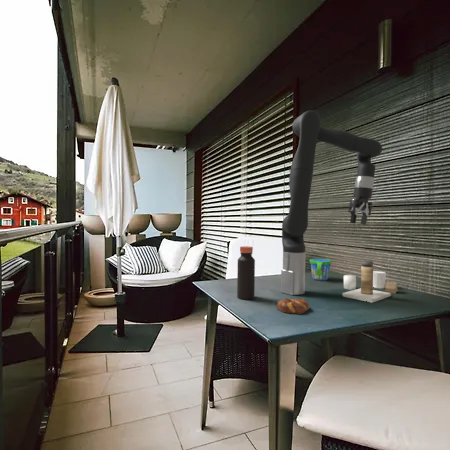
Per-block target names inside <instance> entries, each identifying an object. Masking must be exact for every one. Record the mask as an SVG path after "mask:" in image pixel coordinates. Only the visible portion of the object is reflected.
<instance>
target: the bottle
mask: <svg viewBox="0 0 450 450" xmlns="http://www.w3.org/2000/svg"><path fill="white" fill-rule="evenodd" d="M253 249H254V248H253V246H247V245H246V246H240V247H239V253H240V256H239V257H238V258H237V278H236V280H237V281H236V282H237V284H236V285H237V286H236V287H237V288H236V291H237V293H236V297H237V298H238V299H240V300H249V301H250V300H253V299H254V298H255V290H256V289H255V279H256V278H255V277H256V276H255V274H256V272H255V271H256V267H255V266H256V259H255V258H254V257H253V256H252V255H253V252H254V251H253Z"/></svg>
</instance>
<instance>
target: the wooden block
mask: <svg viewBox="0 0 450 450" xmlns="http://www.w3.org/2000/svg"><path fill="white" fill-rule="evenodd" d="M384 292H387V293H391V294H395V293H396V292H398V282H394V281H392V282H391V281H385V288H384ZM396 294H397V293H396Z"/></svg>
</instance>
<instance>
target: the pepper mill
mask: <svg viewBox="0 0 450 450" xmlns="http://www.w3.org/2000/svg"><path fill="white" fill-rule="evenodd" d="M373 265H374V262H373V261H372V260H361V266H360V267H361V271H360V274H361V275H360V288H361V293H362V294H367V295H372V294H373V290H374V288H373V271H374V266H373Z"/></svg>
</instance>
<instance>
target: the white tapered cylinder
mask: <svg viewBox="0 0 450 450" xmlns="http://www.w3.org/2000/svg"><path fill="white" fill-rule="evenodd" d="M386 279H387V272H385V271H381V270H373V287H374V288H373V289H385V283H386Z"/></svg>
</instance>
